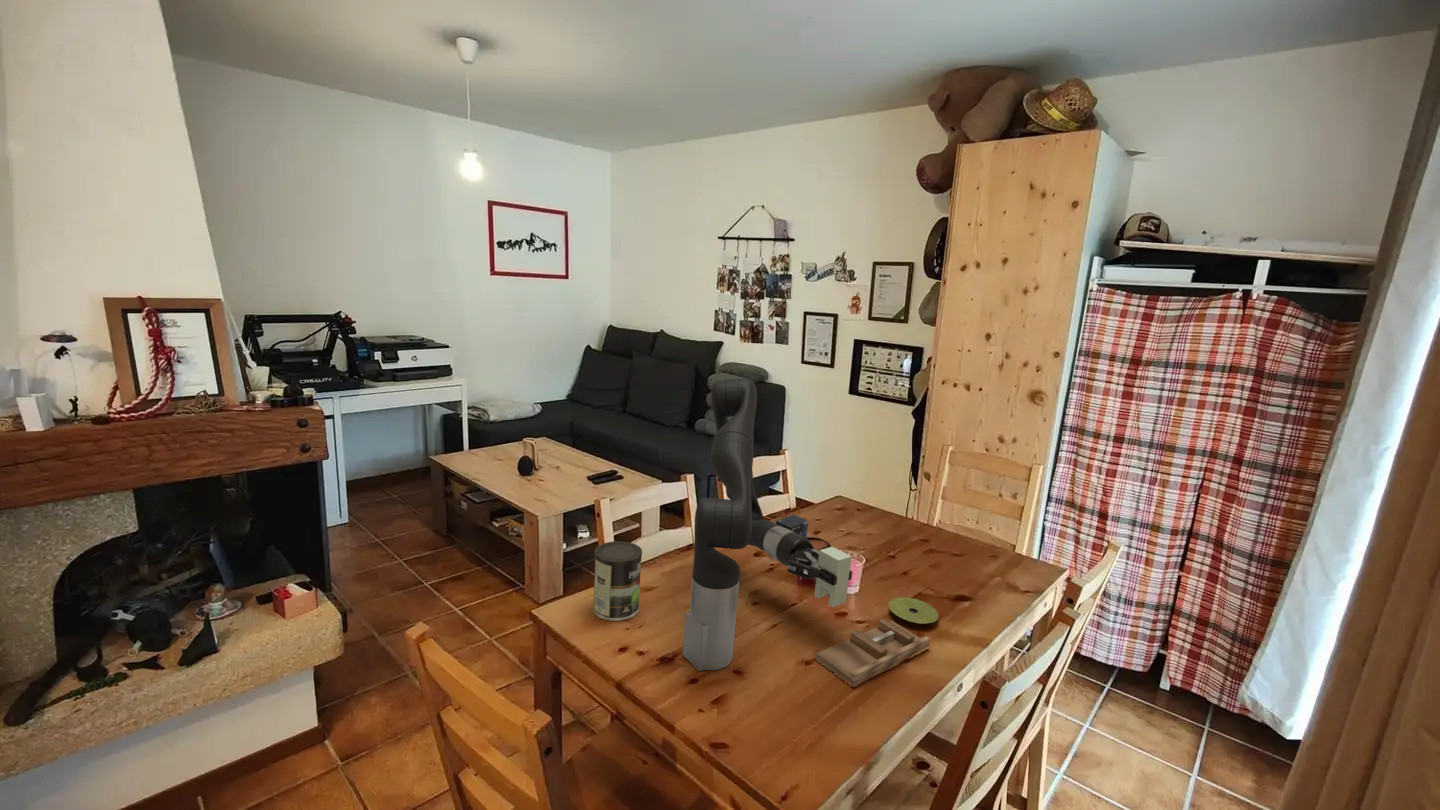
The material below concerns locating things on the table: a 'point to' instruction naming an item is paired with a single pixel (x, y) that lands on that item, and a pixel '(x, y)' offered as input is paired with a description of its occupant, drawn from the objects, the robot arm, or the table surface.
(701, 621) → the robot arm
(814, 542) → the sunglasses case
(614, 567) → the coffee can
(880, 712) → the table surface
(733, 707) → the table surface
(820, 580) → the clip
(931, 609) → the green washer
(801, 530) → the box
